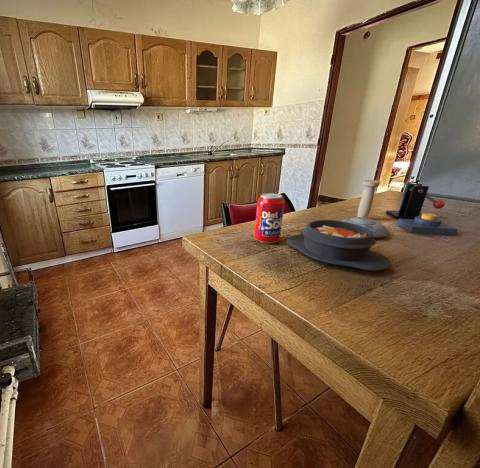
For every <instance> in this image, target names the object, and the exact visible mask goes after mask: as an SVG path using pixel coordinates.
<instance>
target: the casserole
mask: <svg viewBox="0 0 480 468" xmlns="http://www.w3.org/2000/svg"><path fill="white" fill-rule="evenodd" d="M301 233H302V234H296V235H292V236H290V237H288V238H287V240H286V244H288V245H289V246H291V247H292V248H294V249H297V250H298V251H299V252H301V253H303V254H304V255H306V256H307V257H309V258H312V259H314V260H317V261H320V262H323V263H325V264H326V263H327V264H331V265H335V266H344V267H350V268H355V269H360V270H363V271H370V272H375V271H383V270H386V269H387V268H389V267H390V266H391V264H392V263H391V260H390V259H389V257H387V256H386V255H383V254H381V253H379V252H376V251H374V250H372V249H371V248H372V247H374V246H375V245H376V243H377V241H376V240H375V239H376V238H373V233H372V231H370V230H369V229H367V228H365V227H362V226H360V225H356V224H352V223H348V222H342V221H341V220H331V219H320V220H312V221H310V222H308V223H307V224H306V226H305V227H304V228H303V229H302V230H301Z"/></svg>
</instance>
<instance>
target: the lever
mask: <svg viewBox="0 0 480 468" xmlns="http://www.w3.org/2000/svg"><path fill="white" fill-rule="evenodd" d="M414 186H418V185H414ZM412 188H413V186H412V187H411V188H410V189H409V190H410V191H412ZM425 199H427V200H428V201H429V202H431V203H432V207H433V208H435V209H437V210H439V209H443V208H444V207H445V206H446V202H445V201H444V200H441V199H435V198H433V197H431V196H430V195H429V194H428V193H427V194H426V197H425Z"/></svg>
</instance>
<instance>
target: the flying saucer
mask: <svg viewBox="0 0 480 468" xmlns="http://www.w3.org/2000/svg"><path fill="white" fill-rule="evenodd" d="M340 221H342V222H348V223H352V224H356V225H360V226H362V227H365V228H367V229H369V230H370V231H372V233H373V238H374V239H377V238H384V237H386V236H389V235H390V231H389V230H388V228H387V227H386V226H385V225H384V224H382V223H381V222H379V221H377V220H375V219H372V218H369V217H368V218H366V217H357V216H355V217H347V218H343V219H341V220H340Z"/></svg>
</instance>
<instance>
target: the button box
mask: <svg viewBox="0 0 480 468" xmlns="http://www.w3.org/2000/svg"><path fill="white" fill-rule="evenodd" d="M396 224H397V225H398V226H399V227H401V228H402V229H404V230H406V231H407V232H409V233H413V234H425V235H426V234H428V235H429V234H430V235H441V236H442V235H445V236H456V235H457V233H458V231H459V229H458V228H456V227H454V226H452V225H450V224H447V223H445V222H444V221H443V220H442V219H441V218H438V217H436V220H425V219H421V216H416V217H415V219H399V220H397V223H396Z"/></svg>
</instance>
